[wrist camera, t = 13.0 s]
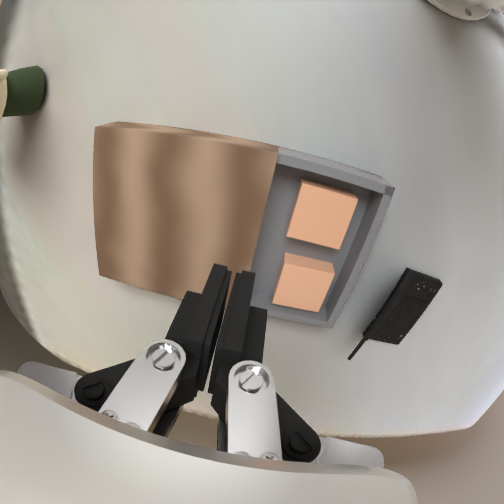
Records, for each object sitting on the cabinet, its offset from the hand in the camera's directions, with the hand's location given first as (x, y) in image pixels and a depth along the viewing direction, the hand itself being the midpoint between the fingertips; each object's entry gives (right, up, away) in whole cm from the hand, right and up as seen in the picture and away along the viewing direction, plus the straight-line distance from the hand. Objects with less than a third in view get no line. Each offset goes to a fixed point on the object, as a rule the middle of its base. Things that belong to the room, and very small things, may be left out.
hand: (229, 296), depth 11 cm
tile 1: (+6, -2, +16) cm, 17 cm away
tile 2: (+7, +5, +12) cm, 15 cm away
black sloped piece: (+18, -5, +20) cm, 27 cm away
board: (-6, +6, +16) cm, 18 cm away
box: (+6, +3, +16) cm, 18 cm away
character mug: (-25, +21, +10) cm, 34 cm away
